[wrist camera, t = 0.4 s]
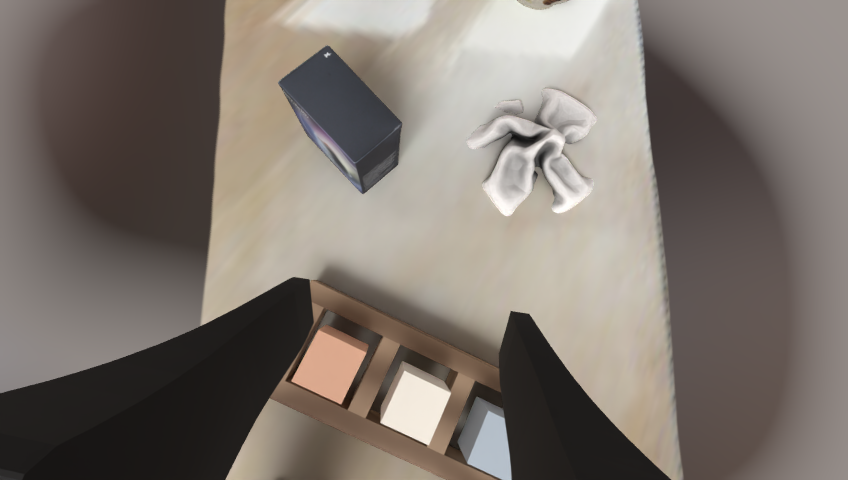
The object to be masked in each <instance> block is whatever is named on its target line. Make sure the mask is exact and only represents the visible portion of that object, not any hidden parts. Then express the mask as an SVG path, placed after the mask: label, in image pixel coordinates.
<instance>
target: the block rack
mask: <svg viewBox="0 0 848 480" xmlns="http://www.w3.org/2000/svg"><path fill="white" fill-rule="evenodd" d="M310 289H311V299H312V308H313V318H314V324H313V326H312V328H311V330H310V332H309V335H308V337H307V339H306V341H305V343H304V345H303V347H302V349H301V350H300V352H299V353H298V355H297V356H296V358H295V360H294V361H293V363H292V364H291V366H290V367H289V369H288V370H287V372H286V373H285V375H284V376H283V378H282V380H281V381H280V383H279V384H278V386H277V387H276V389H275V390H274V392H273V393H272V395H271V396H270V398H271V399H273V400H275V401H277V402H279V403H282V404H284V405H286V406H288V407H290V408H292V409H295V410H297V411H299V412H301V413H303V414H305V415H308V416H310V417H312V418H314V419H316V420H318V421H321V422H323V423H325V424H327V425H329V426H331V427H334V428H336V429H338V430H340V431H342V432H344V433H347V434H349V435H351V436H353V437H355V438H357V439H359V440H362V441H364V442H366V443H368V444H370V445H372V446H375V447H377V448H379V449H381V450H383V451H385V452H388V453H390V454H392V455H394V456H396V457H398V458H401V459H403V460H405V461H407V462H409V463H411V464H414V465H416V466H418V467H420V468H422V469H424V470H427V471H429V472H431V473H433V474H435V475H437V476H440V477H442V478H444V479H446V480H502V479H500V478H498V477H495V476H493V475H491V474H489V473H487V472H485V471H483V470H480V469H478V468H476V467H474V466H472V465H470V464H468V463H467V462H466V460H465V458H464V456H463V453H462V451H460V450H458V449H455V448H453V447H451V446H449V445H448V444H449V442H450V439H451V437H452V434H453V432H454V430H455V427H456V425H457V422H458V420H459V418H460V415H461V413H462V410H463V408H464V406H465V403H466V401H467V398H468V396H469V394H470V391H471V389H472V387H473V384H474V382H475V381H477V382H479V383H481V384H484V385H486V386H488V387H490V388H492V389H494V390H496V391H498V392H500V393H501V389H500V377H499V368H497V367H495V366H493V365H491V364H489V363H487V362H485V361H483V360H481V359H479V358H477V357H475V356H472V355H470V354H468V353H466V352H464V351H462V350H460V349H458V348H456V347H454V346H452V345H450V344H448V343H446V342H444V341H442V340H439V339H437V338H435V337H433V336H431V335H429V334H427V333H425V332H423V331H421V330H419V329H417V328H415V327H413V326H411V325H409V324H406V323H404V322H402V321H400V320H398V319H396V318H394V317H392V316H390V315H388V314H386V313H384V312H382V311H380V310H378V309H376V308H373V307H371V306H369V305H367V304H365V303H363V302H361V301H359V300H357V299H355V298H353V297H351V296H349V295H347V294H345V293H343V292H340V291H338V290H336V289H334V288H332V287H330V286H328V285H326V284H324V283H322V282H320V281H318V280H311V282H310ZM327 309H328V310H330V311H332V312H334V313H336V314H338V315H340V316H342V317H344V318H346V319H348V320H350V321H353V322H355V323H357V324H359V325H361V326H363V327H365V328H367V329H369V330H371V331H373V332H375V333H377V334H380V335H382V337H381V339H380V341H379V343H378V345H377V347H376V349H375V351H374V353H373V355H372V357H371V359H370V361H369V363H368V365H367V367H366V370H365V372H364V374H363V376H362V378H361V380H360V382H359V384H358V386H357V388H356V390H355V392H354V394H353V396H352V398H351V399H349V398H346V397H345V398H344V400H343V402H342V404H339V403H337V402H335V401H333V400H330V399H328V398H326V397H324V396H322V395H320V394H318V393H315V392H313V391H311V390H309V389H307V388H305V387H303V386H300V385H298V384H296V383H294V382H292V379H293V377H294V375H295V373H294V371H295V369H296V367H297V365H298V363H299V361H300V359H301V357H302V356H303V354H304V352H305V350H306V348H307V346H308V344H309V342H310V340H311V339H312V337H313V335H314V333H315V331H316V329H317V327H318V325H319V323H320V322H321V320H322V318H323V316H324V314H325V312H326V310H327ZM400 345H402V346H405V347H407V348H409V349H411V350H413V351H415V352H417V353H419V354H421V355H423V356H425V357H427V358H429V359H432V360H434V361H436V362H438V363H440V364H442V365H444V366H446V367H448V368H450V369H451V371H450V373H449V375H448V377H447V380H446V382H445V384H446V385H447V387H448V389H449V390H450V392H451V395H450V397H449V400H448V402H447V404H446V407H445V409H444V411H443V414H442V416H441V418H440V421H439V423H438V425H437V428H436V430H435V432H434V435H433V437H432V439H431V442H430V444H429V445H427V444H425V443H423V442H420V441H418V440H416V439H414V438H412V437H410V436H408V435H405V434H403V433H401V432H399V431H397V430H395V429H393V428H390V427H388V426H386V425H384V424H382V423H380V420H381V413H378V412H376V411H374V410H372V409H370V408H371V406H372V403H373V401H374V399H375V397H376V395H377V393H378V391H379V389H380V386H381V384H382V382H383V380H384V378H385V376H386V374H387V372H388V370H389V367H390V365H391V363H392V361H393V359H394V357H395V355H396V353H397V351H398V348H399V346H400Z"/></svg>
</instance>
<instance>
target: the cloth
mask: <svg viewBox="0 0 848 480" xmlns="http://www.w3.org/2000/svg"><path fill="white" fill-rule="evenodd" d="M541 93H542V97H543V102H542V106H541V108H540V111H539V113H538V115H537V116H536V119H535V123H533V122H532V121H529V120H526V119H523V118H519V117H516V116H512V115H504V116H501V117H498V118H496V119H494V120H492V121H490V122H489V123H488V124H484V125H480V126H479V127H478V128H477V129H476V130H475V131H474V132H473V133H472V134H471V135H470V136H469V137H468V138H467V139H466V142H467V144H468V146H469V148H471V149H479V148H483V147H485V146H487V145H488V144H489V143H491V142H493V141H495V140H498V139H500V138H503V137H504V136H506V135H507V134H508V133H512V136H513V137H511V140H510V141H509V143H508V144H507V145H506V146H505V147H504V149H503V150H502V152H501V154H500V156H499V158H498V161H497V164H496V166H495V169H494V170H493V172H492V174H491V176H490V177H489V178H488V179H486V180H485V181H484V182H483V183H482V184H483V189H484V190H485V192H486V193H487V194H488V196H489V197H490V199H491V200H492V202H493V203H494V204H495V206H496V207H497V208H498V209H499V211H500V212H501V213H502V214H503V215H505V216H509V215H512V213H513V212H514V210H515V209H516V207H517V206H518V205H519V204H520V203H521V202H522V201H523V200H524V199H526V197H527V196H528V195H529V194H530V192H531V191H532V190H533V186H534V183H535V181H536V178H537V176H538V174H537V173H536V171H535V167H536V166H538V167H540V168H541V169H542V171H543V174H544V176H545V178H546V180H547V181H548V183H549V184H550V186H551V187H552V189H553V194H554V196H555V200H554V202H553V205H552V210H553V211H554V212H556V213H562V212H565V211H567V210H569V209H571V208H572V207H574V206H575V205H577V204H578V203H579V202H580V201H581V200H582V199H584V198H585V197H586V196H587V195H589V194H590V192H591V191H592V189H593V187H594V181H593V180H592V179H591V178H586V177H582V176H580V174H579V173H578V172H577V171H576V169H575V168H574V167H573V166H572V164H571V162H570V161H569V159H568V158H567V157H566V156H565V155H564V154H563V153H561V152H562V149H563V146H564V143H567V144H571V143H574V142H576V141H579V140H581V139H582V138H584V137H585V136H586V135H587V134H588V132H589V130H590V128H591V126H592V125H594V124H595V123H596V122H597V117H596V116H595V114H594V113H593V112H592V111H591V110H590V109H589V108H588V107H587V106H585V105H584V104H582V103H581V102H579V101H578V100H576V99H574V98H573V97H571V96H569V95H567V94H566V93H564V92H562V91H559V90H555V89H550V88H544V89H543V90H542V91H541ZM494 107H495V108H498V109H500V110H503V111H505V112H509V113H514V114H520V113H522V112H523V110H524V108H523V105H522V102H521V101H520V100H514V101H501V102H500V103H498V104H497V105H496V106H494Z"/></svg>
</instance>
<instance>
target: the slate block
mask: <svg viewBox="0 0 848 480" xmlns="http://www.w3.org/2000/svg"><path fill="white" fill-rule="evenodd" d="M458 445H459V447H460V449H461V451H462V453H463V456H464V458H465V460H466V462H467V463H468V464H470V465H472V466H474V467H476V468H478V469H480V470H483V471H485V472H487V473H489V474H491V475H493V476H495V477H498V478H500V479H502V480H511V464H510V454H509V447H508V440H507V432H506V425H505V418H504V411H503V409H502V408H500V407H498V406H496V405H494V404H491V403H489V402H487V401H485V400H483V399H481V398H479V397H477V396H476V398H475V401H474V403H473V406H472V408H471V410H470V413H469V415H468V418H467V420H466V422H465V425H464V427H463V430H462V432H461V435H460V437H459V439H458Z"/></svg>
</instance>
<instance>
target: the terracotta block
mask: <svg viewBox="0 0 848 480" xmlns="http://www.w3.org/2000/svg"><path fill="white" fill-rule="evenodd" d="M368 346H369V345H368V344H366V343H364V342H362V341H360V340H358V339H356V338H354V337H351V336H349V335H347V334H345V333H343V332H341V331H339V330H337V329H335V328H333V327H331V326H328V325H325V326H323V327H322V328H320V329H319V330H318V331H317V333H316V335H315V337H314V339H313V341H312V343H311V345H310V347H309V348H308V350H307V352H306V354H305V356H304V358H303V360H302V362H301V364H300V366H299V367H298V369H297V371H296V373H295V375H294V377H293V379H292V382H294V383H296V384H298V385H300V386H303V387H305V388H307V389H309V390H311V391H313V392H315V393H318V394H320V395H322V396H324V397H326V398H328V399H330V400H333V401H335V402H337V403H339V404H342V402H343V400H344V398H345V395H346V393H347V391H348V389H349V387H350V385H351V383H352V381H353V379H354V377H355V375H356V373H357V371H358V369H359V367H360V365H361V363H362V361H363V359H364V357H365V355H366V353H367V349H368Z"/></svg>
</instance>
